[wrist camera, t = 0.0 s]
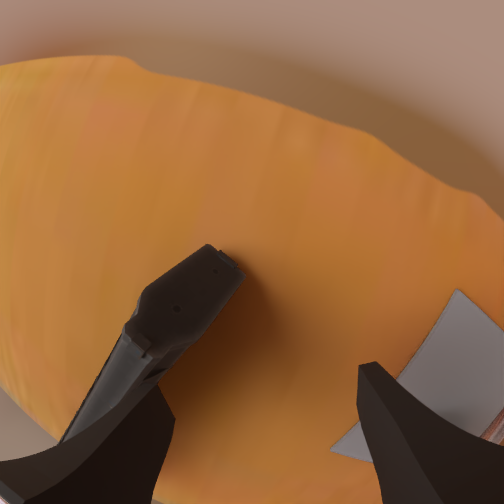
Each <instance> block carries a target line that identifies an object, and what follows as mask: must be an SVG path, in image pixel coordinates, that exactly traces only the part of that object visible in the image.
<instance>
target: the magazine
mask: <svg viewBox="0 0 504 504" xmlns="http://www.w3.org/2000/svg"><path fill="white" fill-rule="evenodd" d="M237 266H238V264H237V263H235V262H234V261H233V260H232V259H231V258H229V257H228V256H227V255H226V254H225V253H223V252H222V251H221V250H220V251H217V250H216V249H215V248H214V247H213V246H211V245H210V244H206V245H205V246H203V247H202V248H200V249H199V250H197V251H196V252H195V253H193V254H192V255H190V256H189V257H187V258H186V259H185V260H183V261H182V262H180V263H179V264H178V265H176V266H175V267H173V268H172V269H170V270H169V271H168V272H166V273H165V274H163V275H162V276H161V277H159V278H158V279H157V280H155V281H154V282H152V283H151V284H150V285H148V286H147V287H146V288H145V289H144V290H143V292H142V293H141V295H140V297H139V299H138V303H137V307H136V309H135V311H134V312H133V314H132V316H131V318H130V320H129V321H128V322H127V323H125V325H124V327H123V329H122V333H121V335H120V337H119V339H118V341H117V342H116V344H115V346H114V348H113V350H112V352H111V353H110V355H109V357H108V359H107V360H106V362H105V364H104V366H103V368H102V370H101V371H100V373H99V375H98V376H97V377H96V379H95V381H94V383H93V385H92V387H91V388H90V390H89V392H88V394H87V396H86V398H85V399H84V400H83V402H82V404H81V406H80V408H79V410H78V411H77V412H76V414H75V416H74V418H73V420H72V421H71V423H70V425H69V426H68V428H67V429H66V431H65V433H64V435H63V436H62V437H61V439H60V441H59V443H58V444H57V445H59V444H61V443H63V442H65V441H66V440H68V439H70V438H72V437H74V436H75V435H77V434H78V433H80V432H82V431H83V430H85V429H86V428H87V427H89V426H90V425H92V424H93V423H94V422H96V421H97V420H98V419H100V418H101V417H102V416H104V415H105V414H106V413H107V412H109V411H110V410H111V409H112V408H114V407H115V406H116V405H117V404H118V403H120V402H121V401H122V400H123V399H124V398H126V397H127V396H128V395H129V394H130V393H132V392H133V391H134V390H135V389H137V388H138V387H139V386H141V385H142V384H143V383H149V384H157V383H158V381H159V380H160V379H161V378H162V377H163V376H164V375H165V373H166V372H167V371H168V370H169V369H170V368H172V366H173V364H174V363H175V362H176V361H177V360H178V359H179V358H180V357H181V355H182V354H183V353H184V352H185V351H186V350H187V349H188V348H189V346H191V345H193V344H194V343H196V342H197V341H198V340H199V339H200V337H201V336H202V335H203V334H204V332H205V331H206V330H207V328H208V327H209V326H210V324H211V323H212V322H213V321H214V319H215V318H216V317H217V315H218V314H219V313H220V311H221V310H222V309H223V307H224V306H225V305H226V303H227V302H228V301H229V299H230V298H231V297H232V295H233V294H234V293H235V291H236V290H237V289H238V287H239V286H240V285H241V283H242V282H243V281H244V279H245V278H246V275H245V273H244V272H243V271H241V270H240V269H239V268H238V267H237Z"/></svg>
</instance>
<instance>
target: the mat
mask: <svg viewBox="0 0 504 504" xmlns="http://www.w3.org/2000/svg"><path fill="white" fill-rule="evenodd" d="M396 381H397V382H398V383H399V384H401V385H402V386H403V387H404V388H405V389H406V390H407V391H408V392H410V393H411V394H412V395H413V396H414V397H416V398H417V399H418V400H419V401H420V402H422V403H423V404H424V405H426V406H427V407H428V408H430V409H431V410H432V411H434V412H435V413H436V414H438V415H439V416H441V417H442V418H444V419H445V420H447V421H449V422H450V423H452V424H454V425H455V426H457V427H459V428H461V429H463V430H465V431H466V432H468V433H470V434H473V435H475V436H477V437H480V436H481V434H482V433H483V432H484V431H485V430H486V429H487V427H488V426H489V425H490V424H491V423H492V421H493V420H494V419H495V418H496V416H497V415H498V414H499V412H500V411H501V410H502V409H503V407H504V332H503V331H502V330H501V329H500V328H499V327H498V326H497V325H496V324H495V323H494V322H493V321H492V320H491V319H490V318H489V317H488V316H487V315H486V314H485V313H484V312H483V311H482V310H481V309H480V308H478V307H477V306H476V305H475V304H474V303H473V302H472V301H471V300H470V299H469V298H467V297H466V296H465V295H464V294H463V293H462V292H461V291H459V290H458V289H455V291H454V293H453V295H452V297H451V299H450V300H449V302H448V304H447V306H446V307H445V309H444V311H443V312H442V314H441V316H440V317H439V319H438V321H437V322H436V324H435V326H434V327H433V329H432V330H431V332H430V333H429V335H428V336H427V338H426V339H425V341H424V342H423V344H422V345H421V347H420V348H419V349H418V351H417V352H416V354H415V355H414V356H413V358H412V359H411V361H410V362H409V363H408V365H407V366H406V367H405V369H404V370H403V371H402V372H401V374H400V375H399V376H398V377H397V379H396ZM330 450H331V452H335V453H338V454H341V455H345V456H348V457H352V458H356V459H359V460H363V461H367V462H371V463H373V460H372V457H371V454H370V452H369V449H368V446H367V443H366V440H365V437H364V434H363V431H362V428H361V423H360V421H359V422H358V423H357V424H356V425H355V426H354V427H353V428H352V429H351V430H350V431H348V432H347V433H346V434H345V435H344V436H343V437H342V438H341V439H340V440H339V441H338V442H337V443H336V444H335V445H334V446H332V447H331V448H330Z"/></svg>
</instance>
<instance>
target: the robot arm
mask: <svg viewBox="0 0 504 504" xmlns="http://www.w3.org/2000/svg"><path fill="white" fill-rule="evenodd" d="M356 405H357V409H358V414H359V419H360V423H361V428H362V431H363V434H364V437H365V440H366V443H367V446H368V449H369V452H370V454H371V457H372V460H373V463H374V466H375V470H376V473H377V476H378V480H379V484H380V489H381V495H382V501H383V504H504V446H501V445H498V444H495V443H492V442H489V441H487V440H485V439H482V438H480V437H477V436H475V435H473V434H470V433H468V432H466V431H464V430H463V429H461V428H459V427H457V426H455V425H454V424H452V423H450V422H449V421H447V420H445V419H444V418H442V417H441V416H439V415H438V414H436V413H435V412H434V411H432V410H431V409H430V408H428V407H427V406H426V405H424V404H423V403H422V402H420V401H419V400H418V399H417V398H416V397H414V396H413V395H412V394H411V393H410V392H408V391H407V390H406V389H405V388H404V387H403V386H402V385H401V384H399V383H398V382H397V381H396V380H395V379H394V378H393V377H392V376H391V375H390V374H389V373H388V372H387V371H386V370H385V369H384V368H383V367H382V366H381V365H380V364H379V363H377V362H376V361H375V362H371V363H366V364H362V365H359V370H358V389H357V403H356ZM174 424H175V417H174V415H173V414H172V412H171V410H170V408H169V406H168V404H167V402H166V401H165V399H164V397H163V395H162V393H161V391H160V389H159V387H158V385H157V384H149V383H143V384H142V385H141V386H139V387H138V388H137V389H135V390H134V391H133V392H132V393H130V394H129V395H128V396H127V397H126V398H124V399H123V400H122V401H121V402H120V403H118V404H117V405H116V406H115V407H114V408H112V409H111V410H110V411H109V412H107V413H106V414H105V415H104V416H102V417H101V418H100V419H98V420H97V421H96V422H94V423H93V424H92V425H90V426H89V427H87V428H86V429H85V430H83V431H82V432H80V433H78V434H77V435H75V436H74V437H72V438H70V439H68V440H66V441H65V442H63V443H61V444H59V445H57V446H54V447H52V448H50V449H47V450H45V451H43V452H40V453H37V454H34V455H31V456H27V457H23V458H19V459H14V460H8V461H0V496H1V497H2V498H3V499H5V500H6V501H7V502H8V503H9V504H151V500H152V495H153V491H154V487H155V484H156V481H157V478H158V476H159V473H160V470H161V467H162V465H163V462H164V459H165V457H166V454H167V451H168V448H169V445H170V442H171V439H172V434H173V429H174ZM2 498H0V504H8V503H7V502H5V501H4V500H3V499H2Z"/></svg>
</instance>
